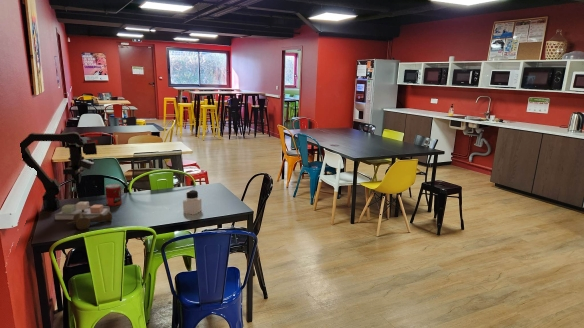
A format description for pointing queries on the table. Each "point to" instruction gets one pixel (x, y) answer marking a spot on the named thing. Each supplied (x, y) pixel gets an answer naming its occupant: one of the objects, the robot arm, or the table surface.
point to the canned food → (113, 194)
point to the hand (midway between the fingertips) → (78, 183)
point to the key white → (82, 205)
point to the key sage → (68, 208)
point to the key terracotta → (96, 208)
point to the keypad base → (85, 212)
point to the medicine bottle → (192, 203)
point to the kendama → (85, 222)
